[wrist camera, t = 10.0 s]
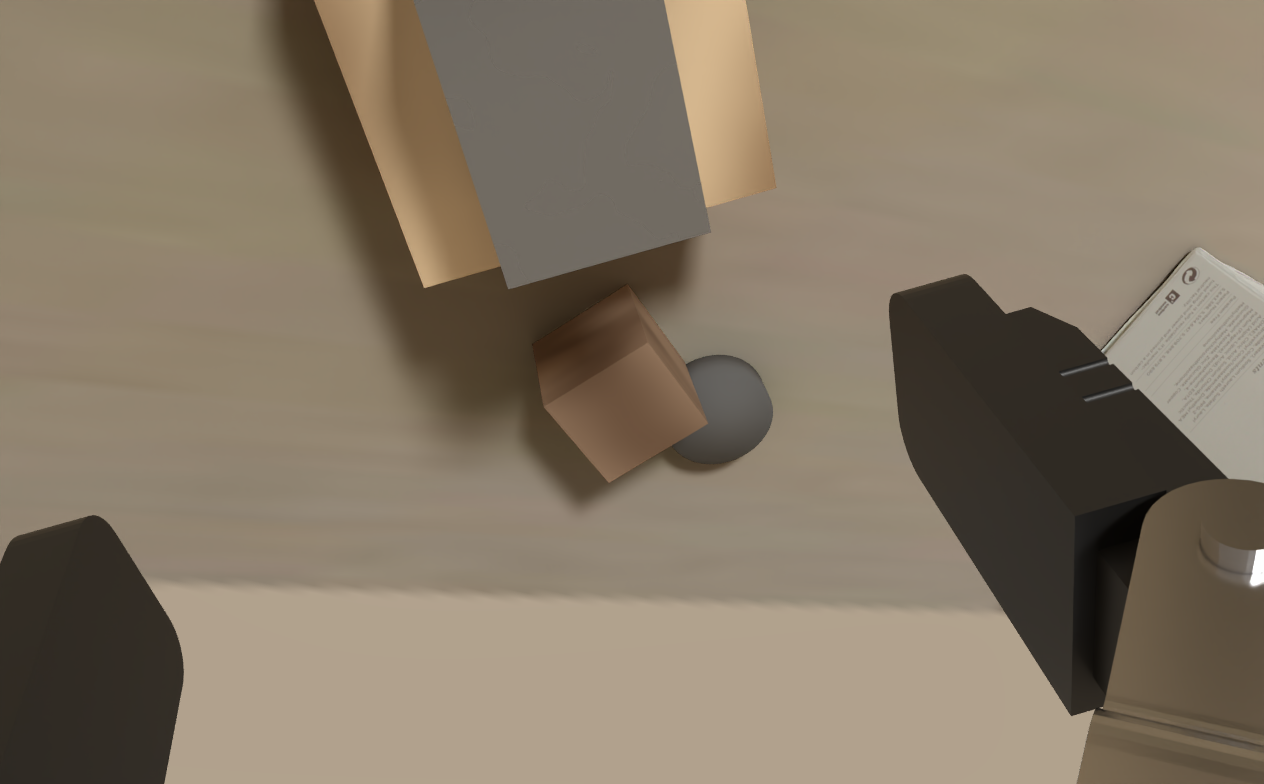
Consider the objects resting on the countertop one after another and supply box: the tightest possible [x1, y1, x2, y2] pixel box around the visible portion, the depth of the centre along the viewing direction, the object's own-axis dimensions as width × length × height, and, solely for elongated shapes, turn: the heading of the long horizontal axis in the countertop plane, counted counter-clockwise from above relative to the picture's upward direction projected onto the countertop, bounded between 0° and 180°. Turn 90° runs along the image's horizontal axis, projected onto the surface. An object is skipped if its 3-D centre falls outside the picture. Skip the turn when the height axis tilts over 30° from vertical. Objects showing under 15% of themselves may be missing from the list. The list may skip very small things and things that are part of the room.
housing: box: [413, 0, 711, 289], centre depth 26 cm, size 8×5×5 cm, turn 13°
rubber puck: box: [672, 355, 773, 464], centre depth 43 cm, size 4×4×2 cm
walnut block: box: [532, 284, 708, 483], centre depth 40 cm, size 4×4×4 cm
